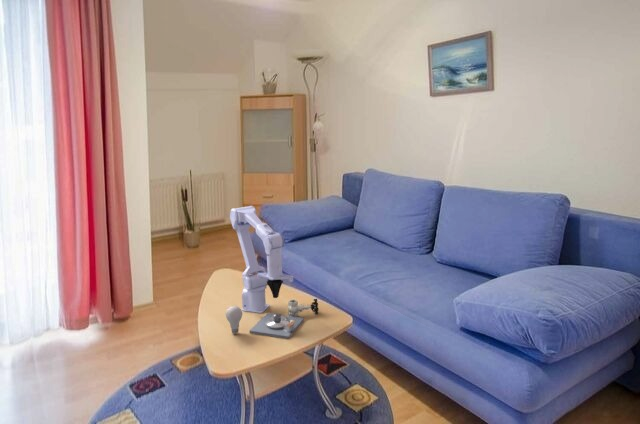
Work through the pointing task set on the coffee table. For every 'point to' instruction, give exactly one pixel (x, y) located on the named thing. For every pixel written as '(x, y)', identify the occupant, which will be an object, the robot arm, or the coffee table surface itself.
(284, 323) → the silver lidded pan
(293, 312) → the valve
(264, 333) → the board
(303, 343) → the coffee table surface
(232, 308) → the lightbulb
